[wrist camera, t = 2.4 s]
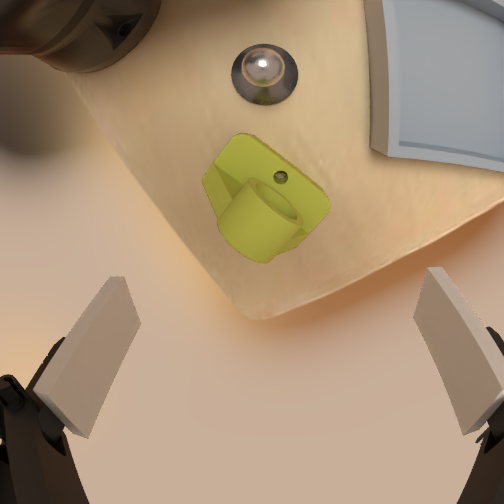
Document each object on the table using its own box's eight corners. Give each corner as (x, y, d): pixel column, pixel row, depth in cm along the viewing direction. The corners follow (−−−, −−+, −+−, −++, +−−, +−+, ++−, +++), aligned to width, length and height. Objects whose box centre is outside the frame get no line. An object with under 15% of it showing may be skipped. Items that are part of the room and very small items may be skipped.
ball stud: (234, 105, 25) (221, 106, 19) (230, 47, 22) (217, 30, 16) (298, 103, 25) (307, 103, 18) (295, 44, 22) (303, 26, 16)
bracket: (331, 196, 29) (356, 241, 20) (294, 237, 31) (301, 294, 23) (241, 126, 26) (225, 138, 17) (206, 174, 29) (176, 209, 20)
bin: (369, 147, 26) (387, 156, 22) (358, -32, 16) (372, -51, 12) (506, 166, 24) (531, 178, 20) (503, 19, 15) (528, 16, 10)
